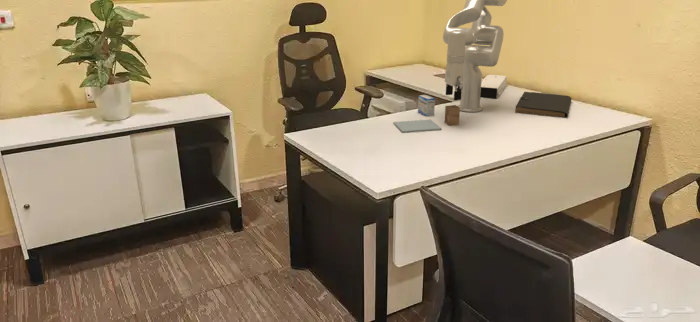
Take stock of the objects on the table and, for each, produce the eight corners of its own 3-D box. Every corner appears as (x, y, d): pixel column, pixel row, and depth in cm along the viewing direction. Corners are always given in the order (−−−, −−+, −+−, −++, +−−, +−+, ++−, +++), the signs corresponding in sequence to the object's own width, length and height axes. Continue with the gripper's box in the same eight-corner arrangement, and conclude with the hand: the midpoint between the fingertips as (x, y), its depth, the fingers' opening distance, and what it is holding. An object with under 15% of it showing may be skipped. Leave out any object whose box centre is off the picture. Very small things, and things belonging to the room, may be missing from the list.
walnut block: (444, 122, 246) (445, 105, 243) (454, 121, 247) (455, 105, 244) (448, 125, 241) (449, 108, 239) (458, 124, 242) (459, 107, 240)
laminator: (486, 84, 318) (487, 74, 316) (507, 86, 314) (508, 76, 311) (475, 97, 289) (476, 86, 287) (498, 100, 285) (499, 88, 282)
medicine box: (417, 112, 262) (418, 95, 259) (425, 111, 264) (425, 94, 261) (426, 116, 255) (427, 99, 252) (434, 115, 257) (435, 97, 254)
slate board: (393, 123, 245) (393, 122, 245) (430, 121, 248) (430, 119, 248) (402, 132, 232) (402, 131, 232) (441, 130, 235) (441, 128, 235)
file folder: (524, 90, 287) (572, 95, 278) (523, 98, 288) (570, 103, 279) (515, 105, 259) (568, 111, 250) (514, 113, 260) (566, 120, 251)
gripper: (440, 56, 241) (438, 93, 247) (455, 63, 225) (452, 102, 231) (456, 55, 242) (453, 92, 248) (471, 62, 226) (468, 101, 232)
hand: (453, 97), depth 240 cm, fingers open, 9 cm apart
